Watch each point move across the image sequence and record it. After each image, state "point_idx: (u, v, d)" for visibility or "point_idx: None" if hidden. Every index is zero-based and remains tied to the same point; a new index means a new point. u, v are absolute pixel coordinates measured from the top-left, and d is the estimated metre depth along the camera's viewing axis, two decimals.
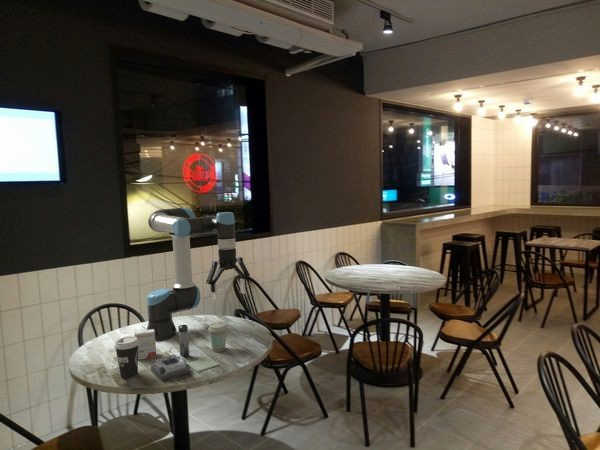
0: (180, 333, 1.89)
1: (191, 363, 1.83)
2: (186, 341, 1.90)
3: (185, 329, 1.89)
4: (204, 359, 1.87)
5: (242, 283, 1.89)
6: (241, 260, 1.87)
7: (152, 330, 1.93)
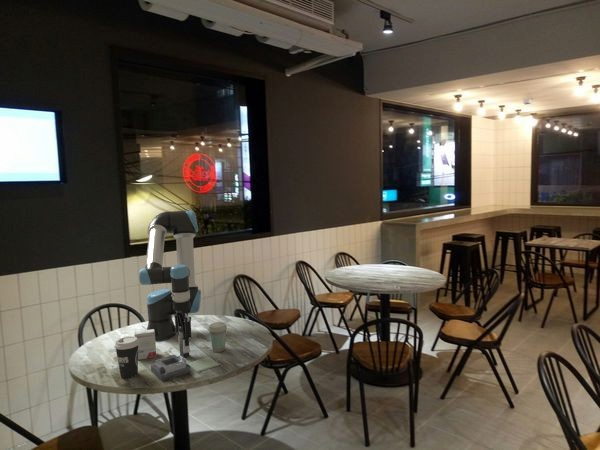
0: (180, 333, 1.89)
1: (191, 363, 1.83)
2: None
3: None
4: (204, 359, 1.87)
5: None
6: (185, 320, 1.85)
7: (152, 330, 1.93)
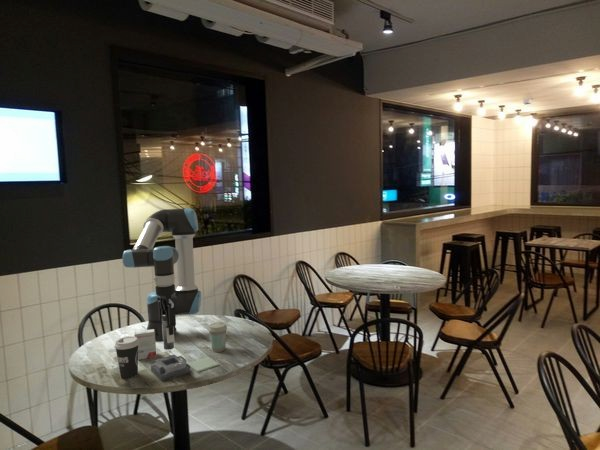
0: (164, 322, 1.72)
1: (191, 363, 1.83)
2: None
3: None
4: (204, 359, 1.87)
5: None
6: (168, 306, 1.68)
7: (152, 330, 1.93)
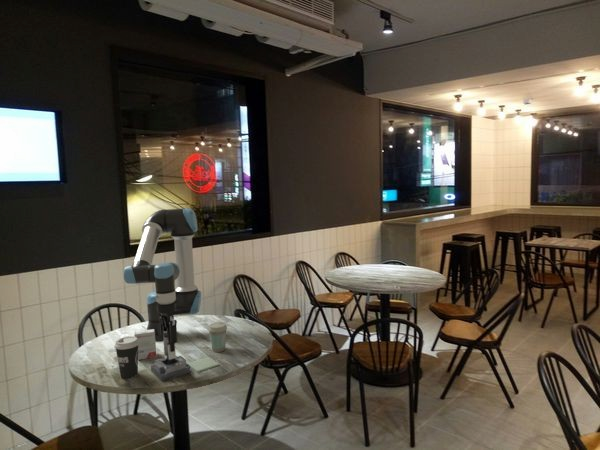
0: (165, 339, 1.74)
1: (191, 363, 1.83)
2: None
3: None
4: (204, 359, 1.87)
5: None
6: (170, 323, 1.69)
7: (152, 330, 1.93)
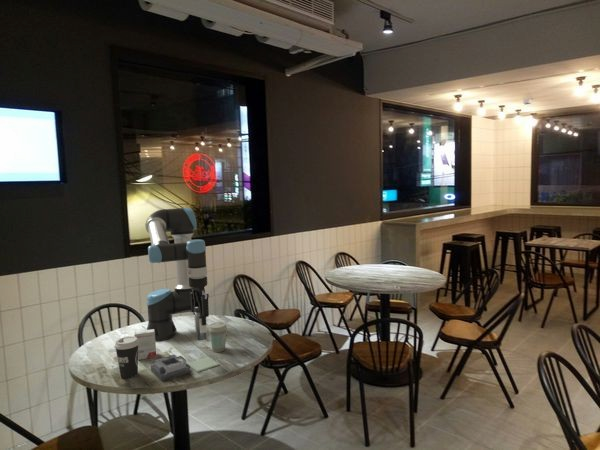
0: (197, 314, 1.78)
1: (191, 363, 1.83)
2: None
3: None
4: (204, 359, 1.87)
5: None
6: (202, 297, 1.74)
7: (152, 330, 1.93)
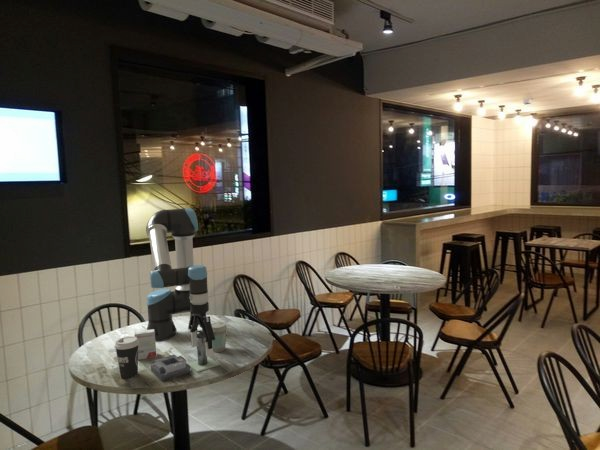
0: (198, 339, 1.79)
1: (191, 363, 1.83)
2: (204, 348, 1.80)
3: (203, 335, 1.80)
4: None
5: None
6: (204, 320, 1.75)
7: (152, 330, 1.93)
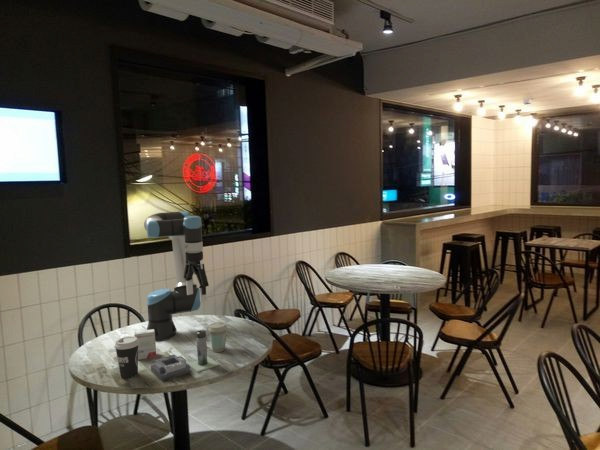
0: (198, 339, 1.79)
1: (191, 363, 1.83)
2: (204, 348, 1.80)
3: (203, 335, 1.80)
4: None
5: None
6: (198, 267, 1.83)
7: (152, 330, 1.93)
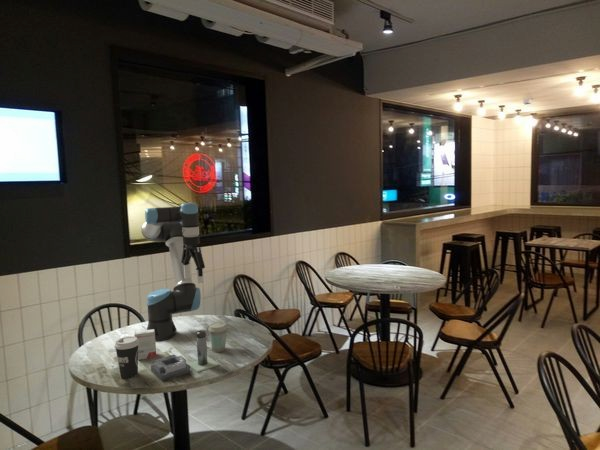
0: (198, 339, 1.79)
1: (191, 363, 1.83)
2: (204, 348, 1.80)
3: (203, 335, 1.80)
4: None
5: None
6: (195, 250, 1.94)
7: (152, 330, 1.93)
